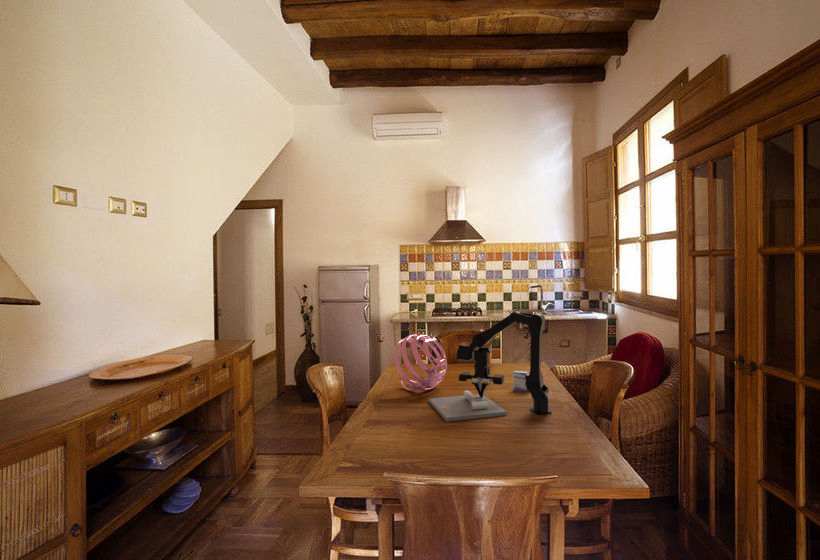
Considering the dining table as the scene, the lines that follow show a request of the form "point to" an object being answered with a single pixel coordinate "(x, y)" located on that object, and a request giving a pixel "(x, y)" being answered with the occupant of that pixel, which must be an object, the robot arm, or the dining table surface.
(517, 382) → the medicine box
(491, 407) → the latch plate
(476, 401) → the latch key
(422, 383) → the pink spiral sphere sculpture
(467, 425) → the dining table surface
